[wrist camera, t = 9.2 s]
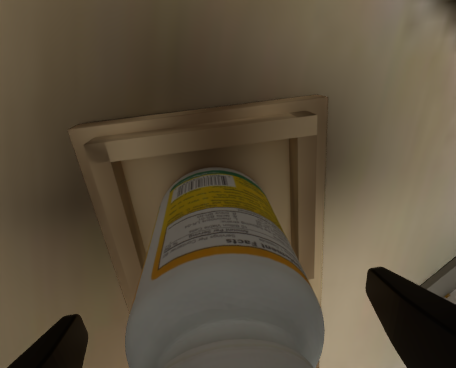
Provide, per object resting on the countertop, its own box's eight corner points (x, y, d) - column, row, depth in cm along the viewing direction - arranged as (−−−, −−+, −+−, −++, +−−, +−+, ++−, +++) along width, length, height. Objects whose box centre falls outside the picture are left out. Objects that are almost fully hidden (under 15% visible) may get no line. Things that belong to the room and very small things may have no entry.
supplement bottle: (200, 141, 12) (205, 335, 3) (290, 202, 14) (450, 441, 5) (137, 230, 14) (26, 531, 5) (225, 276, 15) (263, 564, 6)
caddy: (170, 412, 21) (167, 452, 19) (78, 124, 13) (53, 136, 10) (311, 387, 22) (324, 423, 20) (317, 94, 13) (341, 100, 11)
